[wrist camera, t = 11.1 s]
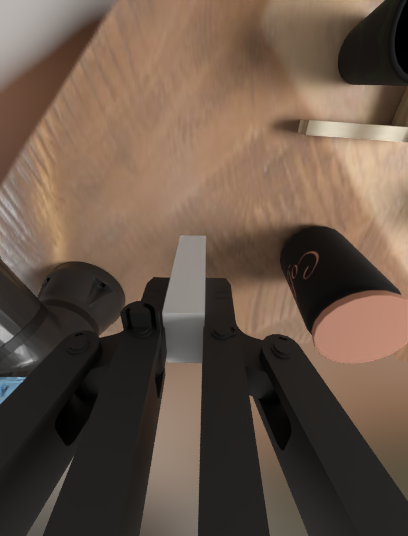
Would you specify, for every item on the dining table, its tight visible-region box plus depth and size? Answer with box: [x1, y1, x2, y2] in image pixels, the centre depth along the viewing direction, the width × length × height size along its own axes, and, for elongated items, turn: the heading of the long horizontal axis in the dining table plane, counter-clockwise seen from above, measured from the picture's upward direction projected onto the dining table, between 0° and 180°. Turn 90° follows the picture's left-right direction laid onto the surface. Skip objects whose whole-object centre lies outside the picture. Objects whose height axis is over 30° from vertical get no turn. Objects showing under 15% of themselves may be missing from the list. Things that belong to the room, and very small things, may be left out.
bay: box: [298, 86, 408, 142], centre depth 26 cm, size 14×15×5 cm
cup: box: [338, 0, 408, 86], centre depth 22 cm, size 8×8×12 cm
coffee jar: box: [280, 227, 408, 363], centre depth 34 cm, size 11×11×18 cm
